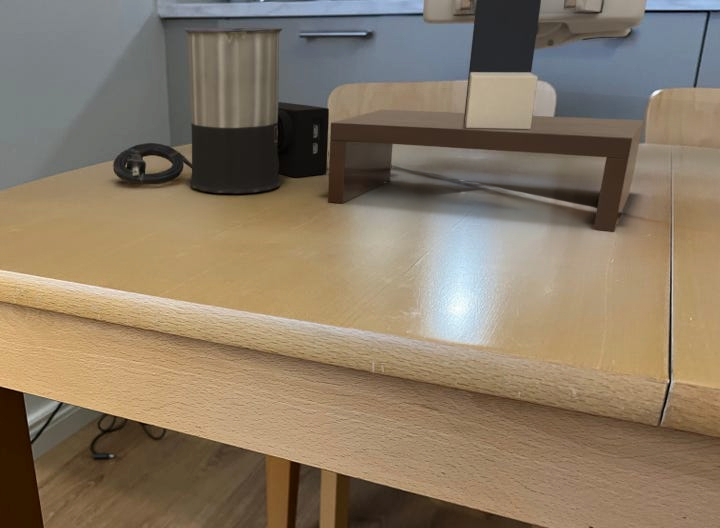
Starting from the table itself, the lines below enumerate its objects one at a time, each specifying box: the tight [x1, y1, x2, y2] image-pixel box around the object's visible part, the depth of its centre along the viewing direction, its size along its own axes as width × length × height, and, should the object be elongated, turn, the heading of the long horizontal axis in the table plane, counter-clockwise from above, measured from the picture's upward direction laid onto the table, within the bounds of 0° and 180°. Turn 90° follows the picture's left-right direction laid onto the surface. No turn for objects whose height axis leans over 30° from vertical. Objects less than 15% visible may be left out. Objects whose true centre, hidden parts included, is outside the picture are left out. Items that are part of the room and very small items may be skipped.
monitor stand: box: [327, 109, 644, 232], centre depth 67 cm, size 13×24×7 cm, turn 61°
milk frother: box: [112, 26, 283, 195], centre depth 74 cm, size 14×16×15 cm
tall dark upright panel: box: [464, 0, 541, 130], centre depth 63 cm, size 11×5×15 cm, turn 165°
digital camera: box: [277, 101, 330, 178], centre depth 84 cm, size 10×5×7 cm, turn 31°
